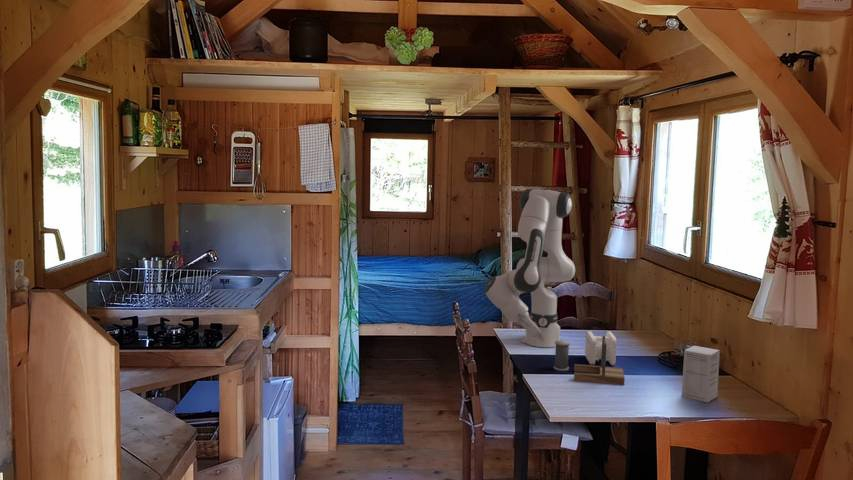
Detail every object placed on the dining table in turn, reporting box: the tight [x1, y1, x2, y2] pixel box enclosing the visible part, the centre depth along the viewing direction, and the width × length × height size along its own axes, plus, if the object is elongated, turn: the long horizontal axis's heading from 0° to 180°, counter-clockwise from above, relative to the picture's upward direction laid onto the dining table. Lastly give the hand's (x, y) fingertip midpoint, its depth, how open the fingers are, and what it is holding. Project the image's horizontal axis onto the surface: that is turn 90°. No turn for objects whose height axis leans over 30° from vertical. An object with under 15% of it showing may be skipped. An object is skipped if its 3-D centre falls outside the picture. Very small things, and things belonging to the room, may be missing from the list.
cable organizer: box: [584, 330, 617, 366], centre depth 280 cm, size 15×11×12 cm
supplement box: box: [681, 345, 721, 403], centre depth 240 cm, size 10×9×17 cm
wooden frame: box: [573, 335, 625, 386], centre depth 260 cm, size 13×18×14 cm
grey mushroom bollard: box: [553, 339, 571, 372], centre depth 270 cm, size 6×6×11 cm
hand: (541, 337), depth 269 cm, fingers open, 8 cm apart
